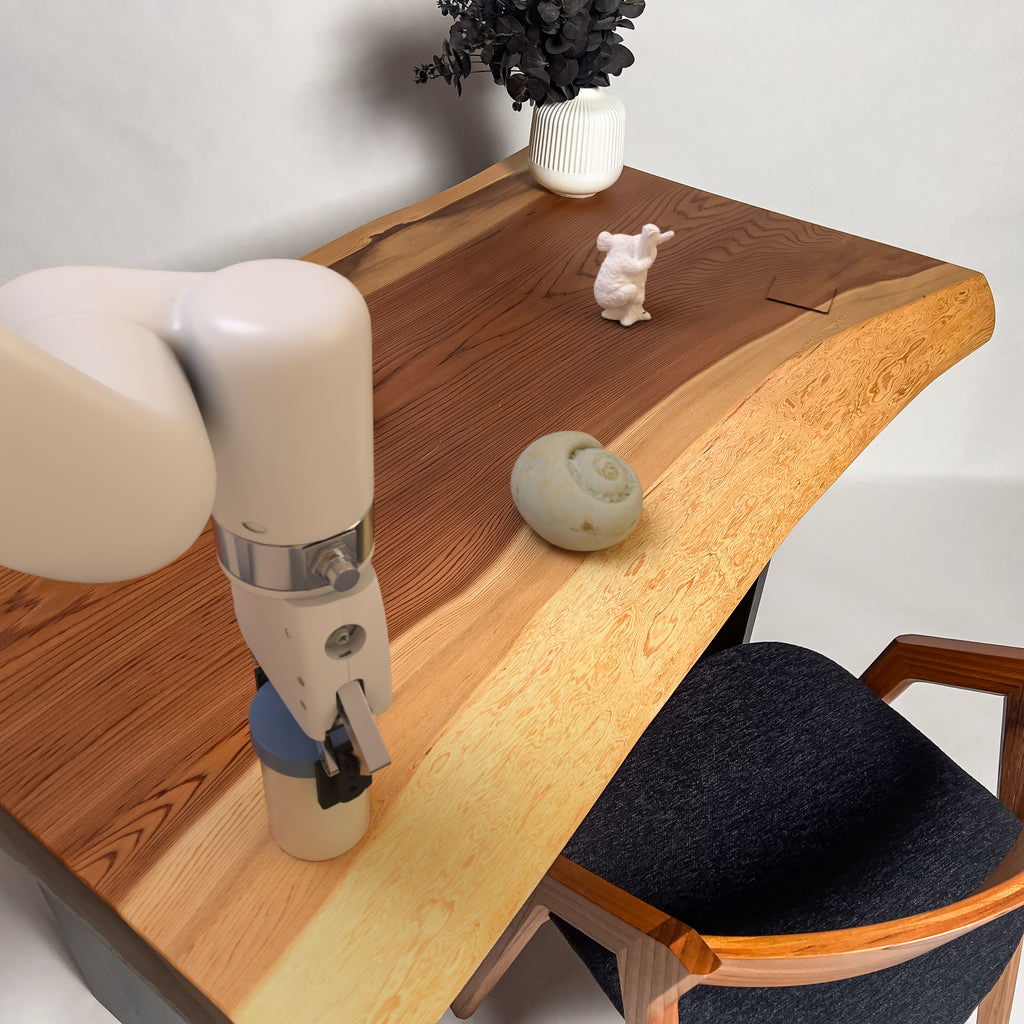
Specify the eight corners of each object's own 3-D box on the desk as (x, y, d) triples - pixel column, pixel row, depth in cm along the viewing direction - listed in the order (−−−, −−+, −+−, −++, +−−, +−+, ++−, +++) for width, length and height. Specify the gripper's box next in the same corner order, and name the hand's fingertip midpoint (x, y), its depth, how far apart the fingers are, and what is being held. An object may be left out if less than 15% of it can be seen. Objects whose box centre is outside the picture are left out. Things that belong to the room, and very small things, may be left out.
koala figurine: (662, 313, 117) (680, 219, 110) (649, 338, 112) (667, 242, 105) (595, 297, 119) (609, 204, 111) (580, 321, 114) (593, 225, 106)
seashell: (670, 461, 82) (596, 496, 75) (654, 539, 86) (582, 579, 79) (558, 407, 89) (482, 435, 82) (548, 482, 93) (474, 514, 86)
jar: (297, 880, 58) (285, 781, 52) (252, 802, 62) (235, 700, 56) (388, 828, 62) (388, 729, 55) (341, 757, 65) (335, 656, 59)
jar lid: (357, 672, 60) (357, 654, 59) (387, 761, 55) (387, 744, 54) (241, 696, 57) (239, 678, 56) (261, 792, 52) (259, 774, 51)
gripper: (461, 606, 42) (446, 827, 54) (287, 409, 53) (305, 630, 64) (305, 675, 39) (325, 896, 50) (151, 450, 49) (196, 676, 61)
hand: (314, 746), depth 57 cm, fingers closed on jar lid, 7 cm apart
